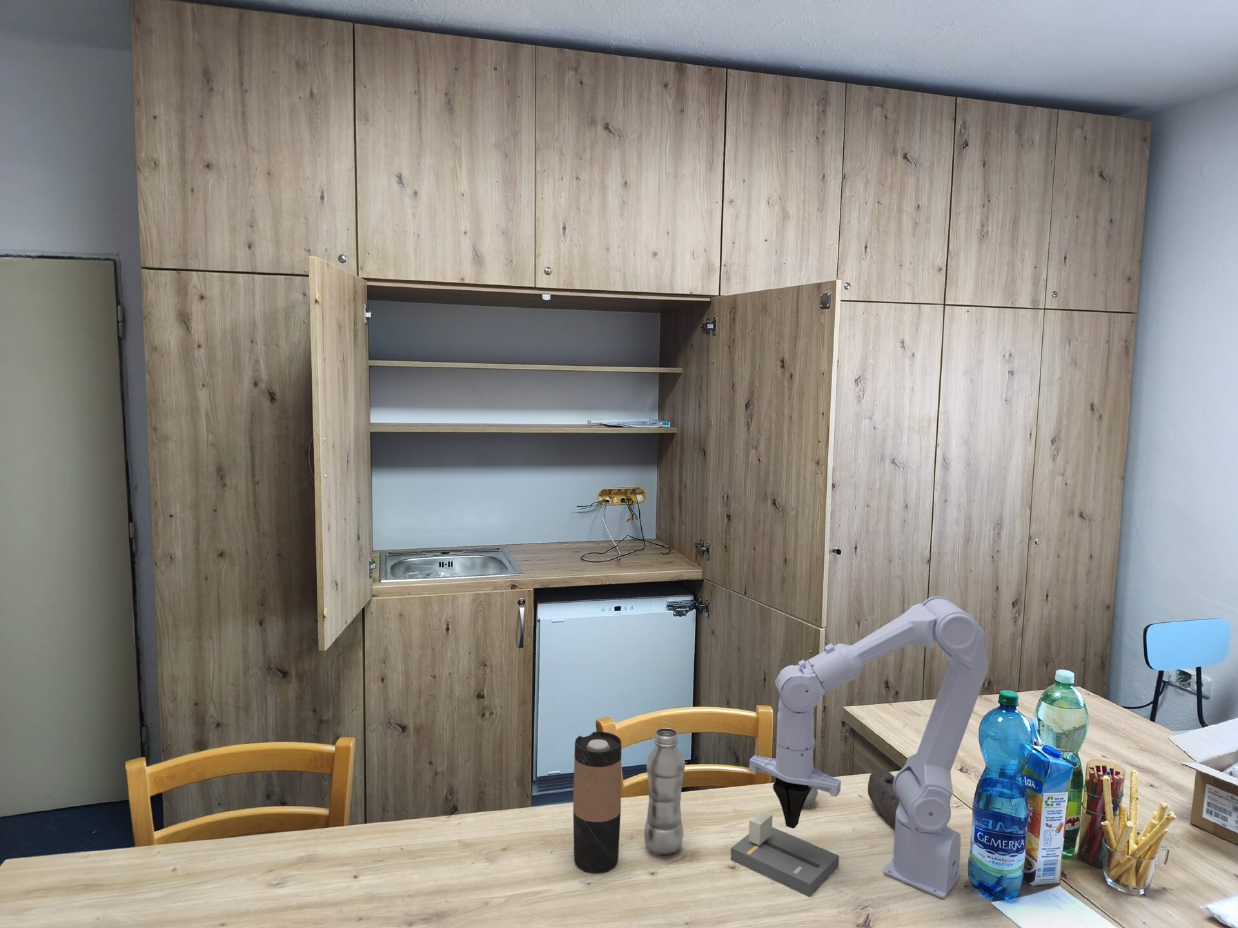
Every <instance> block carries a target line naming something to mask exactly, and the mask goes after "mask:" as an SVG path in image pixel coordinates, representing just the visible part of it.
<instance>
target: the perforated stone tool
mask: <svg viewBox="0 0 1238 928" xmlns="http://www.w3.org/2000/svg"><path fill="white" fill-rule="evenodd" d="M894 778H895V775H893V773H891V772H890V771H888V770H883V769H881V770H880V769H878V770H874V771H873V772H871V773H870V775H869V779H868V782H867V795H868V797H869V800H870V801H871V803H872V804H873V806H874V808H875V809H876V811H877V812H878V814H879V815H880V816H881V817H882V818H883V819H884V820H885V821H886V822H887V823H888V824H889V825H890V826H891V827H892V828H893V829H895V821H896V810H897V808H898V806H899V800H900V799H899V798H898V797H897V795H896V794H895V792H894V788H893V781H894Z"/></svg>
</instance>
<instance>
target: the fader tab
mask: <svg viewBox="0 0 1238 928" xmlns="http://www.w3.org/2000/svg"><path fill="white" fill-rule="evenodd" d="M748 821H749V825H748V834H749V841H751V842H753V843H755V844H758V845H760V844H762V843H763V842H764V841H765V840H766V839H768V838H769V837H770V836H771V835H772V827H773V814H770V813H769V812H766V811H764V810H761V811H759V812H757V814H756V815H754V816H753V817H751V818H750V819H749V820H748Z"/></svg>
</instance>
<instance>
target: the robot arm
mask: <svg viewBox="0 0 1238 928" xmlns="http://www.w3.org/2000/svg"><path fill="white" fill-rule="evenodd" d="M985 635H986V633H985V631H984V630H983V629H982V627H981V625H980V624H979V623H978V621H977V620H976V619H975V617H973V616H972V615H971V614H970V613H967V612H966V611H964V610H963V609H961V608H960V607H959V606H957V605H956V603H954V602H953V601H952V600H951V599H950V598H947V597H946V596H936V595H935V596H932V597H929V598H927V599H926V600H924V601H923V602H922V603H920V602H919V603H917V604H914V605H912V606H910V607H909V609H907V610H906V611H905V612H903V614H901V615H900V616H898V617H896V618H895V619H893V620H891V621H890V622H888V623H887V624H885V625H883V626H881V627H880V628H877V630H875V631H873V632H871V633H870V634H868V635H867V636H864V637H863V638H862V639H860V640H859V641H856V642H855V643H854V644H852V645H850V644H846V643H845V644H844V643H841V642H840V643H837V644H835V645H833V643H829V644H827V645H825V646H824V649H825V650H824V651H822V652H820V653H818V654H817V655H815V656H813V657H811V658H809V659H807V660H805V659H801V660H799V662H797V663H798V664H796V665H794V664H791V665H787V666H785V667H784V668H782V669H781V670H780V671H779V673H778V675H777V678H776V679H775V680H774V682H775V683H774V684H775V688H776V690H777V692H778V693H779V697H778V706H777V707H778V712H777V717H776V718H777V720H776V725H777V726H776V751H775V752H776V753H775V755H776V756H775V758H773V757H765V756H759V755H753V756H752V757H751V758H750V759H749V766H748V769H749V772H752V773H756V772H759V773H763V774H765V775H769V776H773V777H775V781H774V782H773V784H772V790H773V791H774V793H775V794H776V797H777V799H778V801H779V804H780V806H781V809H782V813H783V817H784V823H785V827H787V828H790V829H795V828H796V827H797V826H798V824H799V823H800V822H799V821H800V816H801V813H802V810H803V808H802V807H803V805H804V802H805V800H806V798H807V796H808V794H809V792H810V791H811V789H812V788H815V789H817V790H819V791H822V792H825V793H829V795H830V796H831V797H834V798H837V796H839V795H840V793H841V788H842V786H841V784H842V780H840V779H838V778H836V777H835V778H834V777H832V776H830V775H829V774H826V773H825V772H822V771H820V770H818V769H816V768H815V767H814V768H813V762H814V750H813V741H814V738H815V737H814V735H815V733H814V732H815V715H814V713H815V712H814V711H815V708H816V707H817V705H818V704H819V701H820V699H821V697H822V696H825V695H826V694H829V693H830V692H833V691H834V690H836V689H839V688H840V687H842V686H844V685H845V684H847V683H850V682H851V681H854V680H855V679H857V678H859V677H860V676H861V673H862V670H863V667H864V666H865V665H866V664H869V663H871V662H873V661H875V660H877V659H880V658H881V657H884V656H886V655H888V654H891V653H893V652H895V651H898V650H900V649H902V648H904V647H906V646H908V645H914V646H920V647H924V648H929V649H935V647H936V646H935V642H936V643H937V644H938V646H939V648H940V649H941V652H942V653H943V655H944V656H945V658H946V660H947V662H948V664H947V665H948V666H947V669H946V671H945V674H944V676H943V679H942V682H941V685H940V688H939V691H938V694H937V696H936V698H935V702H934V705H933V708H932V710H931V713H930V715H929V718H928V722H927V724H926V726H925V729H924V732H923V735H922V738H921V740H920V742H919V743H920V744H919V746H918V748H917V751H916V753H915V754H912V755H910V756H908V757H907V760H906V762H905V764H904V766H903V767H902V768H901V769H900V770H899V771H898V772H897V773H896V774H895V775H894V777H895V778H894V781H893V788H894V792H895V794H896V795H897V797H898V798H899V799H900V800H899V806H898V808H897V810H896V821H895V828H894V841H893V858H892V859H891V861H890V862H889V863H888V864H887V865H886V866H885V867H884V868H883V874H885V875H887V876H888V877H891V878H894V879H895V880H898V881H900V882H902V883H904V884H905V883H906V884H908V885H910V886H913V887H915V888H917V889H919V890H921V891H924V892H926V893H929V894H931V895H933V896H936V897H937V898H940V899H945V898H946V897H947V895H948V894H949V892H950V891H951V890H952V888H953V887H954V885H955V884H956V883H957V881H958V880H959V878H960V877H961V873H960V863H961V862H960V860H961V847H962V846H961V845H962V840H961V838H962V837H961V835H960V833H959V832H958V831H956V830H954V829H953V828H951V827H950V826H948V824H949V823H950V820H951V816H952V807H951V799H952V797H953V793H954V791H953V781H952V773H951V771H952V769H953V766H954V764H955V759H956V758H957V755H958V752H959V750H960V746H961V744H962V741H963V739H964V735H965V733H966V730H967V728H968V725H969V722H970V720H971V717H972V714H973V711H974V708H975V705H976V703H977V700H978V698H979V695H980V693H981V690H982V687H983V684H984V681H985V679H986V677H987V673H988V670H989V660H988V655H987V650H986V645H985V641H984V638H985Z"/></svg>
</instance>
